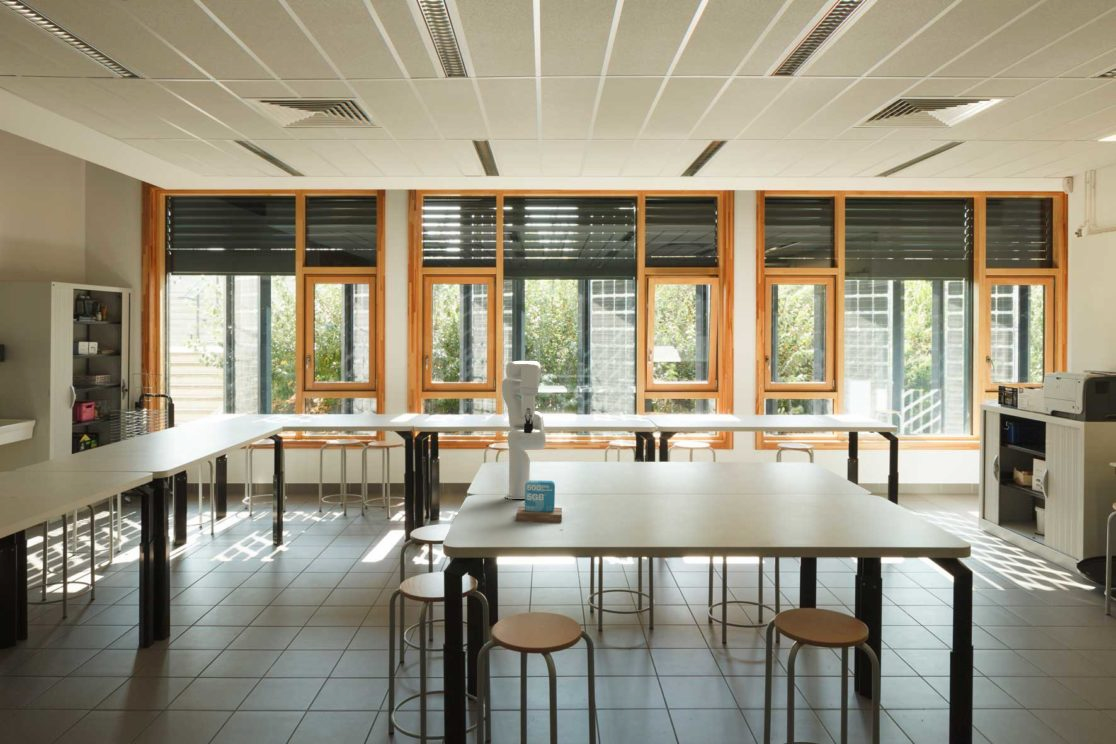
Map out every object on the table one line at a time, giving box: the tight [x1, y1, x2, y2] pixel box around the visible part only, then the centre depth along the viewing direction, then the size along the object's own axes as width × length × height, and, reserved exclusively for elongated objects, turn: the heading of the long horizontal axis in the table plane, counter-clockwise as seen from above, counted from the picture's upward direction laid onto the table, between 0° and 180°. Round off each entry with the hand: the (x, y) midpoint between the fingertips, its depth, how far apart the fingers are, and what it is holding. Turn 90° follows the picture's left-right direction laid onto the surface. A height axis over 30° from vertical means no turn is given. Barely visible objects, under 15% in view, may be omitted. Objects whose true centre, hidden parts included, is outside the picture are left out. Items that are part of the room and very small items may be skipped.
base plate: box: [515, 506, 563, 523], centre depth 309 cm, size 14×18×3 cm
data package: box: [524, 479, 556, 512], centre depth 309 cm, size 12×4×12 cm, turn 89°
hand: (528, 431), depth 325 cm, fingers open, 9 cm apart
